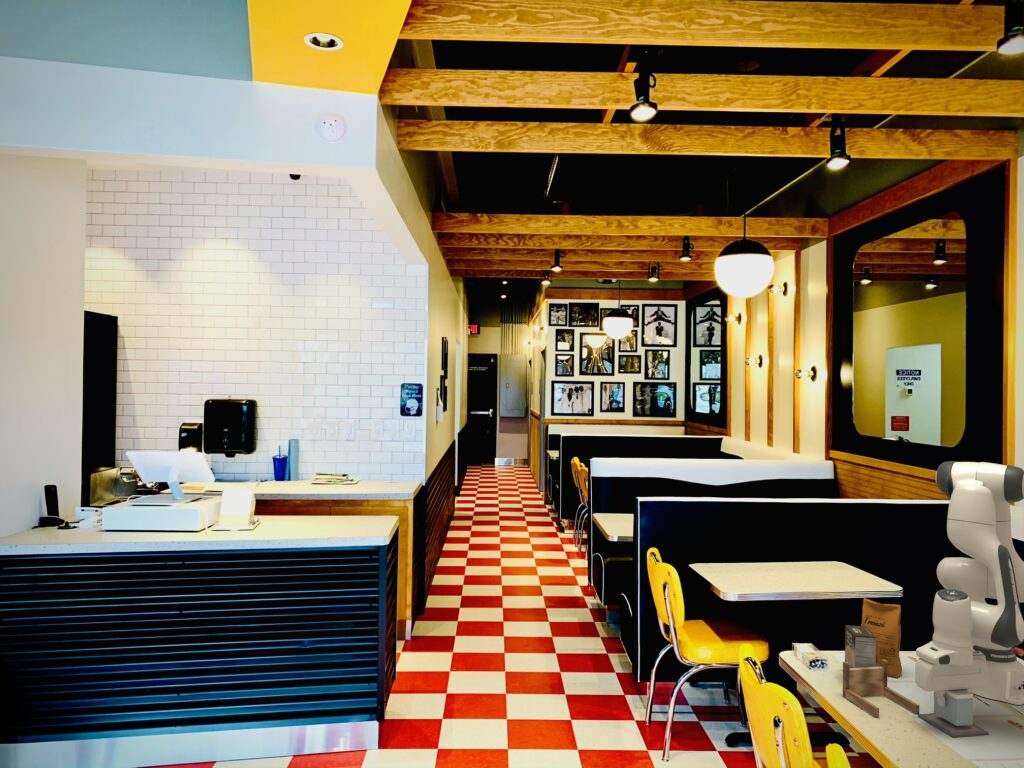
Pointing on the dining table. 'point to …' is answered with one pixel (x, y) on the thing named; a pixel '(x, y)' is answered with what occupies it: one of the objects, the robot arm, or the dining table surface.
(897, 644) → the coffee package
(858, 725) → the dining table surface
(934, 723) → the mat
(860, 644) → the coffee box
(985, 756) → the dining table surface
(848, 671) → the wooden stand
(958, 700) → the block
